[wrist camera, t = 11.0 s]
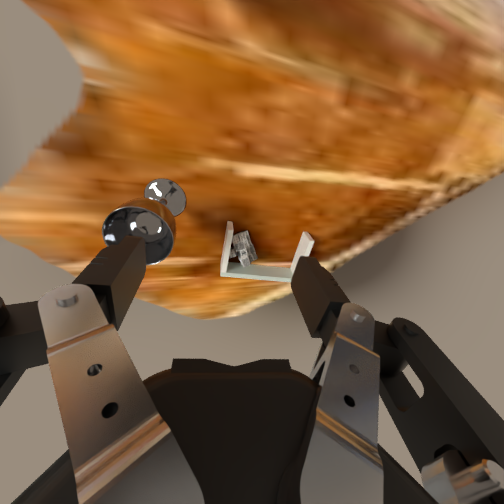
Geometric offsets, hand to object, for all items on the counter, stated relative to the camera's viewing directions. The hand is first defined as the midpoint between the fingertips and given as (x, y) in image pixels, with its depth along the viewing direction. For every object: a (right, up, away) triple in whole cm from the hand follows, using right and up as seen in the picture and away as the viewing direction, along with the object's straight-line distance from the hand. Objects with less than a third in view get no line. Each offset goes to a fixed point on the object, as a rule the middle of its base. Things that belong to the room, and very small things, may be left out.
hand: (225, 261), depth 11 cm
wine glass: (-14, +10, +28) cm, 33 cm away
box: (+4, +1, +36) cm, 36 cm away
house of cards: (-3, +2, +35) cm, 35 cm away
